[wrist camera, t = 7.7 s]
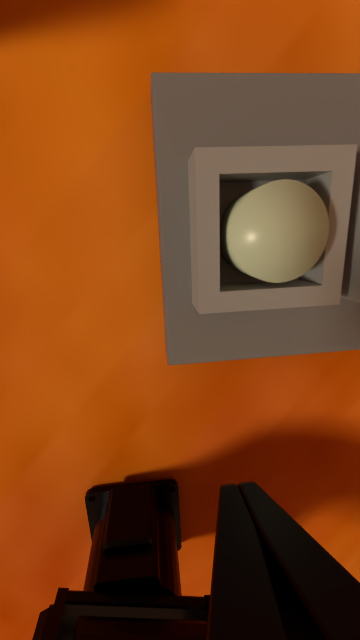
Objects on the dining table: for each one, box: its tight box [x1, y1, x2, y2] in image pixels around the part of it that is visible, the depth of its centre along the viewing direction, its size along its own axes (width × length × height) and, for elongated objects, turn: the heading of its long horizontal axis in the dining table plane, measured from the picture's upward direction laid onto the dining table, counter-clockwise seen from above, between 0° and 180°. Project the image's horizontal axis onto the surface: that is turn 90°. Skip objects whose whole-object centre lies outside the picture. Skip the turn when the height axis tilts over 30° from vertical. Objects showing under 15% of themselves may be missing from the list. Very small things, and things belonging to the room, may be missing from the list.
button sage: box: [220, 179, 329, 283], centre depth 14 cm, size 4×4×3 cm
